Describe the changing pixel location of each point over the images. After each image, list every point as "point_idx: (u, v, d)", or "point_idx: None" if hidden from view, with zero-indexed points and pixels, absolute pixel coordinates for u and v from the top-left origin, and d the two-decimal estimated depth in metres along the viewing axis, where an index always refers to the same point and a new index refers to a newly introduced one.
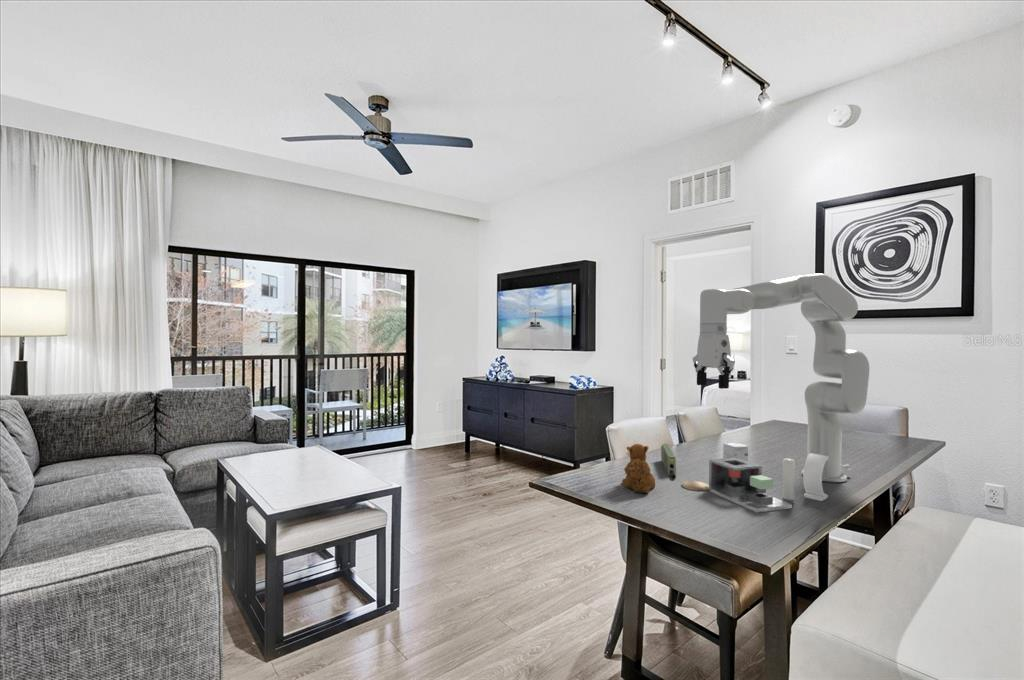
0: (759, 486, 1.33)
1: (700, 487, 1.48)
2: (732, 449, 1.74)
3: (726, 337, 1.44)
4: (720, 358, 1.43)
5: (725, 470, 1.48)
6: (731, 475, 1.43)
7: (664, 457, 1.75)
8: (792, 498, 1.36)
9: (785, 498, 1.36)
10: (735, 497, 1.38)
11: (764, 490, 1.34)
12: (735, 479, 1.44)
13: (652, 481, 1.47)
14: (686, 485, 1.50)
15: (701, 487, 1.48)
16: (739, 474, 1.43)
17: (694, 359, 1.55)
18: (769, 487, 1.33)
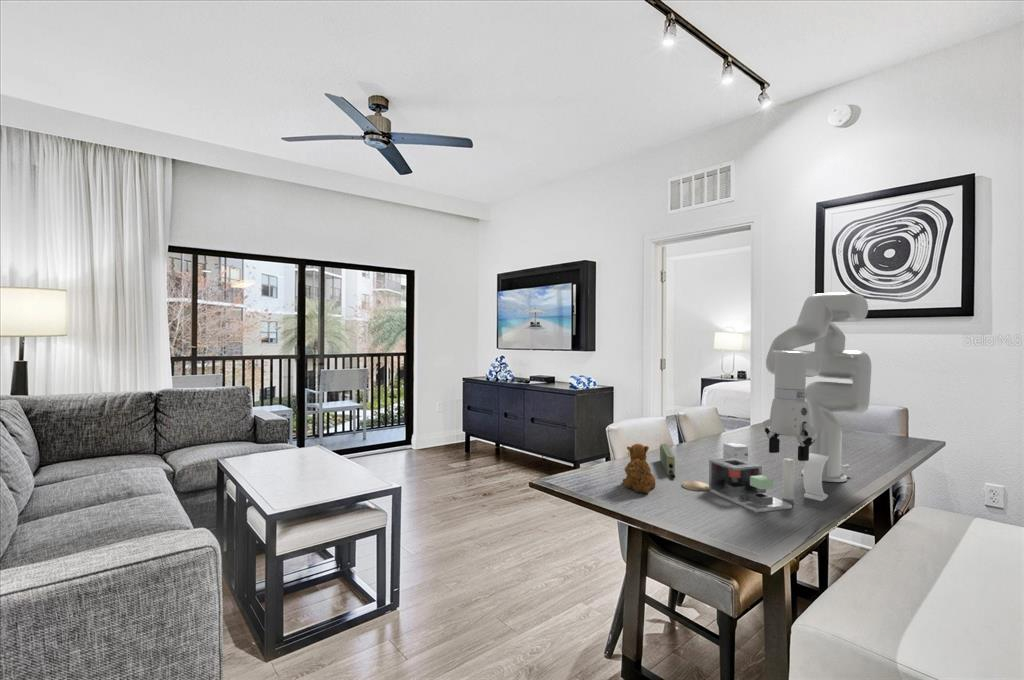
0: (759, 486, 1.33)
1: (700, 487, 1.48)
2: (732, 449, 1.74)
3: (806, 404, 1.32)
4: (800, 428, 1.31)
5: (725, 470, 1.48)
6: (731, 475, 1.43)
7: (663, 457, 1.75)
8: (792, 498, 1.36)
9: (785, 498, 1.36)
10: (735, 497, 1.38)
11: (764, 490, 1.34)
12: (735, 479, 1.44)
13: (652, 481, 1.47)
14: (686, 485, 1.50)
15: (701, 487, 1.48)
16: (739, 474, 1.43)
17: (765, 423, 1.44)
18: (769, 487, 1.33)
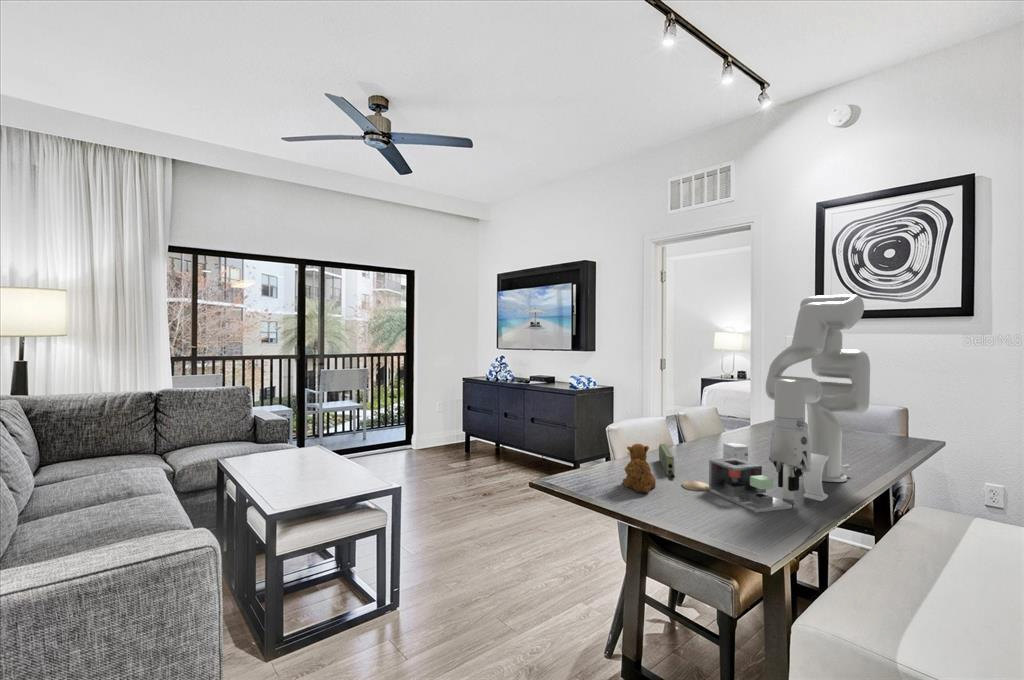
0: (759, 486, 1.33)
1: (700, 487, 1.48)
2: (732, 449, 1.74)
3: (806, 433, 1.33)
4: (800, 457, 1.32)
5: (725, 470, 1.48)
6: (731, 475, 1.43)
7: (662, 457, 1.75)
8: (792, 498, 1.36)
9: (786, 498, 1.36)
10: (735, 497, 1.38)
11: (764, 490, 1.34)
12: (735, 479, 1.44)
13: (652, 481, 1.47)
14: (686, 485, 1.50)
15: (701, 487, 1.48)
16: (739, 474, 1.43)
17: (771, 458, 1.42)
18: (769, 487, 1.33)
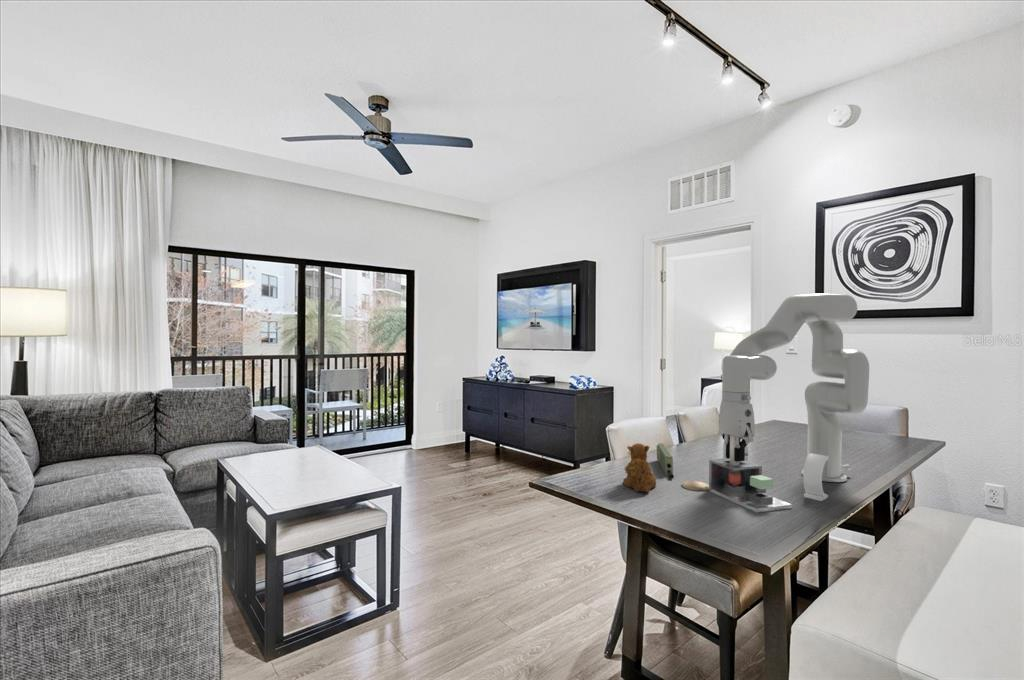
0: (759, 486, 1.33)
1: (700, 487, 1.48)
2: None
3: (750, 406, 1.40)
4: (744, 428, 1.39)
5: (725, 470, 1.48)
6: (731, 481, 1.43)
7: (660, 457, 1.75)
8: None
9: None
10: (735, 497, 1.38)
11: (764, 490, 1.34)
12: (735, 485, 1.44)
13: (653, 480, 1.47)
14: (686, 485, 1.50)
15: (701, 487, 1.48)
16: (739, 480, 1.43)
17: (720, 431, 1.49)
18: (769, 487, 1.33)
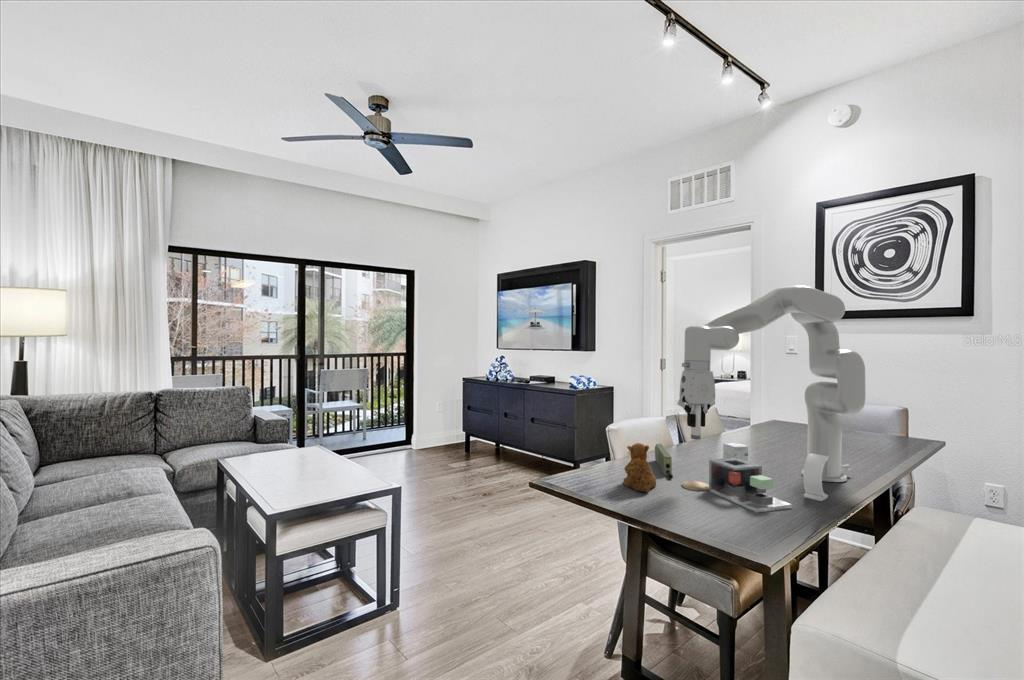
0: (759, 486, 1.33)
1: (700, 487, 1.48)
2: (732, 449, 1.74)
3: (686, 373, 1.48)
4: (680, 393, 1.50)
5: (725, 470, 1.48)
6: (731, 481, 1.43)
7: (659, 457, 1.75)
8: (691, 434, 1.50)
9: None
10: (735, 497, 1.38)
11: (764, 490, 1.34)
12: (735, 485, 1.44)
13: (653, 480, 1.47)
14: (686, 485, 1.50)
15: (701, 487, 1.48)
16: (739, 480, 1.43)
17: None
18: (769, 487, 1.33)
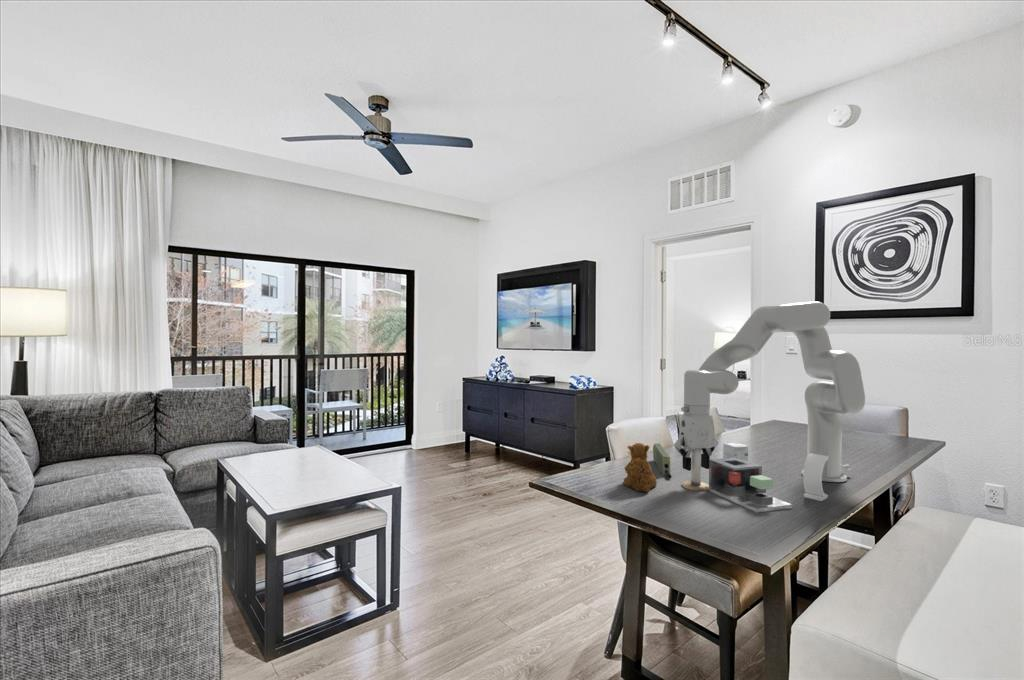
0: (759, 486, 1.33)
1: (700, 487, 1.48)
2: (732, 449, 1.74)
3: (686, 418, 1.48)
4: None
5: (725, 470, 1.48)
6: (731, 481, 1.43)
7: (657, 457, 1.75)
8: (691, 480, 1.50)
9: None
10: (735, 497, 1.38)
11: (764, 490, 1.34)
12: (735, 485, 1.44)
13: (653, 480, 1.47)
14: (686, 485, 1.50)
15: (701, 487, 1.48)
16: (739, 480, 1.43)
17: None
18: (769, 487, 1.33)
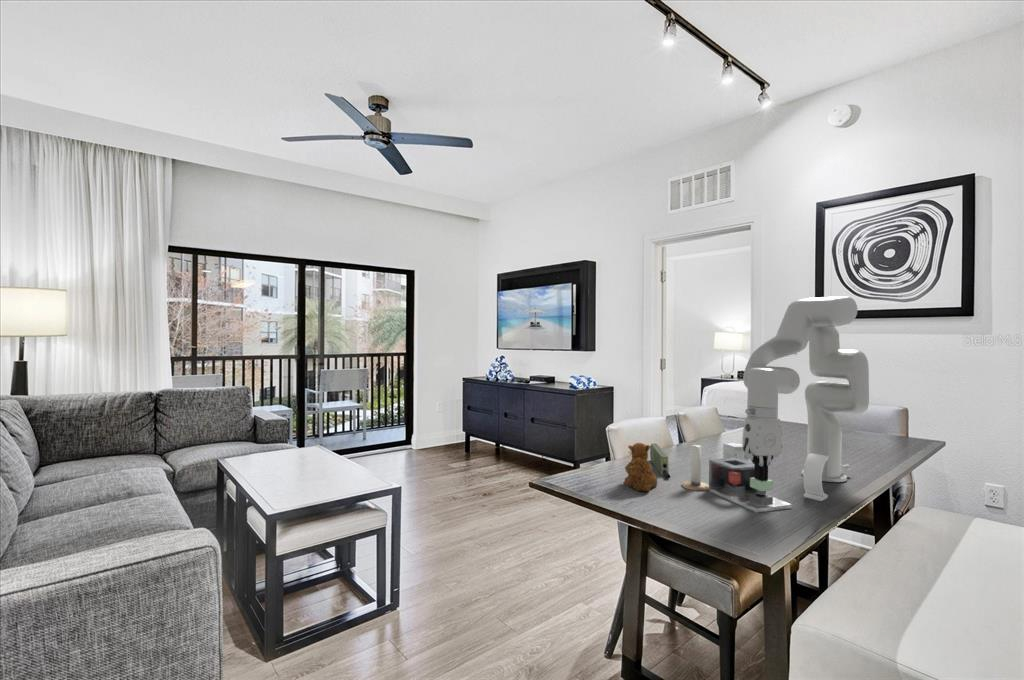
0: (759, 488, 1.33)
1: (700, 487, 1.48)
2: (732, 449, 1.74)
3: (751, 421, 1.32)
4: (743, 442, 1.34)
5: (725, 470, 1.48)
6: (731, 481, 1.43)
7: (654, 457, 1.75)
8: (691, 480, 1.50)
9: None
10: (735, 497, 1.38)
11: (764, 492, 1.34)
12: (735, 485, 1.44)
13: (653, 480, 1.48)
14: (686, 485, 1.50)
15: (701, 487, 1.48)
16: (739, 480, 1.43)
17: None
18: (769, 489, 1.33)
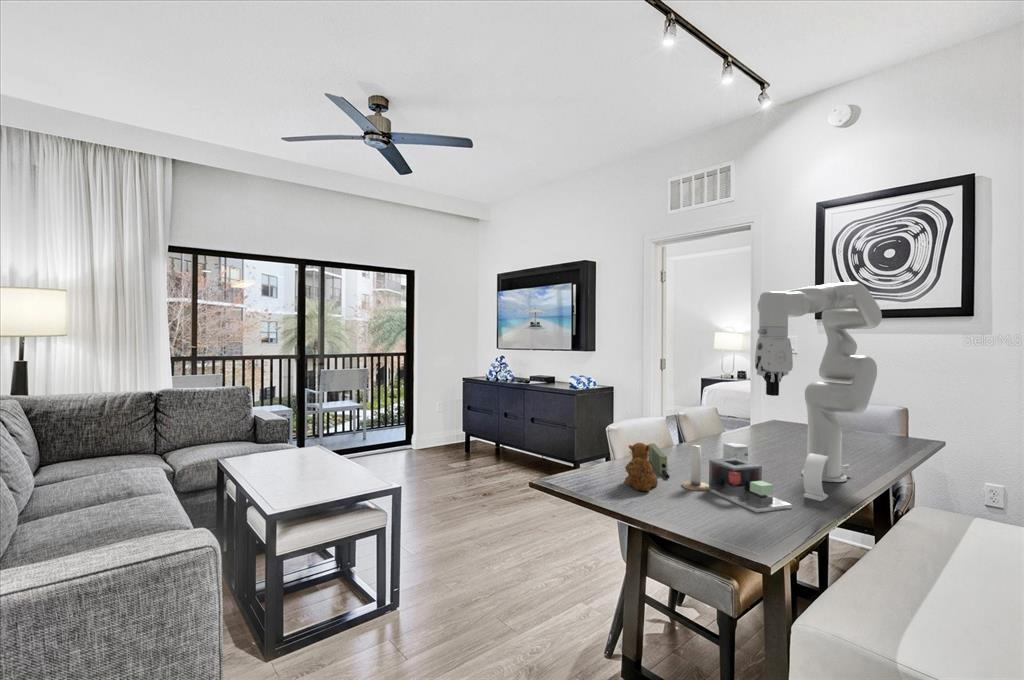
0: (759, 492, 1.33)
1: (700, 487, 1.48)
2: (732, 449, 1.74)
3: (763, 340, 1.42)
4: (755, 361, 1.45)
5: (725, 470, 1.48)
6: (731, 481, 1.43)
7: (653, 457, 1.75)
8: (691, 480, 1.50)
9: None
10: (735, 497, 1.38)
11: (764, 496, 1.34)
12: (735, 485, 1.44)
13: (653, 480, 1.48)
14: (686, 485, 1.50)
15: (701, 487, 1.48)
16: (739, 480, 1.43)
17: None
18: (769, 493, 1.33)
